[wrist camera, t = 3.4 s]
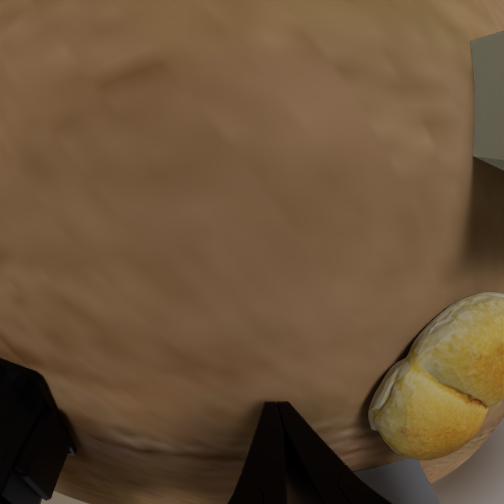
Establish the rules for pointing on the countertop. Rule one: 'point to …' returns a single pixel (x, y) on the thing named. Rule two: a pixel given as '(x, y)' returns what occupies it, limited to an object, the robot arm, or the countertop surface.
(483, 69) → the sage block
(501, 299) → the bread roll
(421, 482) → the charcoal block
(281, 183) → the countertop surface
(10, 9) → the countertop surface
